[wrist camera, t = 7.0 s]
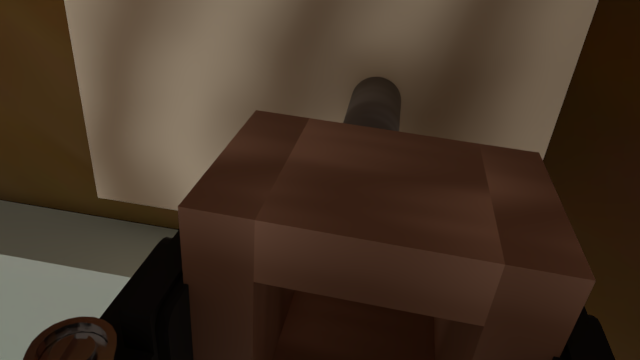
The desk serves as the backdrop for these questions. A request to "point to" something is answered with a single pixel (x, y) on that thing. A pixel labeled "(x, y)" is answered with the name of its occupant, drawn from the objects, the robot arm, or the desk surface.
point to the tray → (62, 268)
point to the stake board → (310, 75)
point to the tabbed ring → (377, 248)
